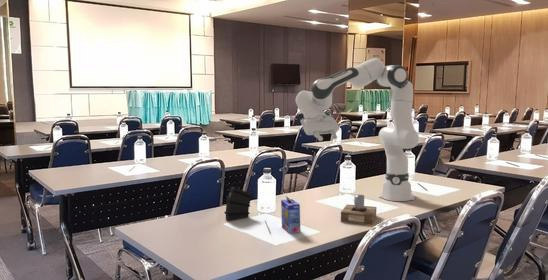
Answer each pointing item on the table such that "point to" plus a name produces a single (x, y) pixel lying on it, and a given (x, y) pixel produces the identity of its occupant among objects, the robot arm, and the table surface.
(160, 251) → the table surface
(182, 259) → the table surface
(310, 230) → the table surface
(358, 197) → the barrel peg
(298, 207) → the ink cartridge box
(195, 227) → the table surface
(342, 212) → the socket block
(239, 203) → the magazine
